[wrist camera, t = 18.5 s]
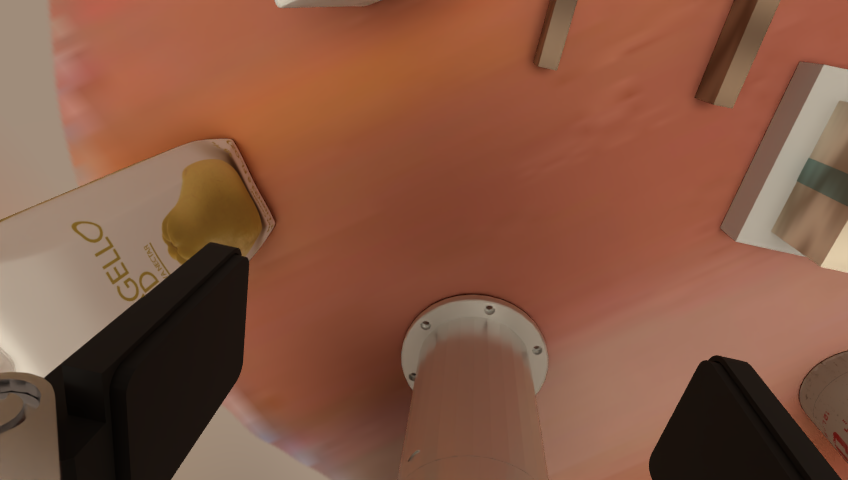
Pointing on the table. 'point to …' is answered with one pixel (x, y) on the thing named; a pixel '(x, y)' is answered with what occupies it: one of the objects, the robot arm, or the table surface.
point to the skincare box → (322, 3)
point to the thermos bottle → (829, 400)
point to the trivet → (784, 154)
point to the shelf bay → (728, 58)
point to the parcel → (821, 199)
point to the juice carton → (117, 246)
